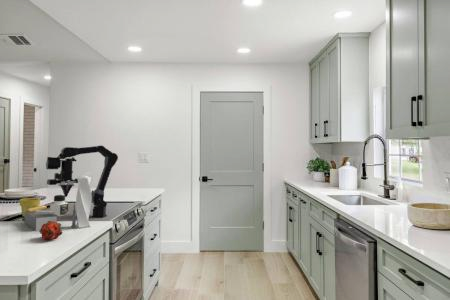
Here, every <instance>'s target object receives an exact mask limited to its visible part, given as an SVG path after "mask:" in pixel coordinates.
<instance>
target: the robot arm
mask: <svg viewBox="0 0 450 300" xmlns="http://www.w3.org/2000/svg"><path fill="white" fill-rule="evenodd" d="M92 153H99V154H100V155H101V156H102V157H104V163H103V164H104V167H103V170H102V172H101V175H100V177H99V181H98V183H97V185H96V188H95V189H94V190H91V196H92V201H91V204H93V208H92V216H91V218H104V217H107V216H108V214H106V211H107V206H108V203H107V202H106V201H105V200H104V196H105V188H106V186H107V184H108V180H109V177H110V174H111V171H112V169H113V167H114V166H115V165H116V163H117V161H118V160H119V155H118V154H117V153H115V152H112V151H111V150H109V149H108V148H106V147H105V146H104V145H97V146H96V145H95V146H83V147H70V146H69V147H67V146H65V147H63V148H62V149H61V150H60V153H59V155H57V157H54V156H53V157H52V156H47V157H46V162H45V168H46V170H59V169H60V173H59V172H55V173H54V177H53V178H49V179H47V180H46V185H48V186H59V187H60V188H61V189H62V193H63V195H64V196H65V198H67V197H68V195H69V193H70V191H71V189H72V188H73V186H74V187H75V184H78V179H77V178H74V179H73V172H74V170H73V162H77V159H75V156H79V155H84V154H92Z"/></svg>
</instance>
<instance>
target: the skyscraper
mask: <svg viewBox="0 0 450 300" xmlns="http://www.w3.org/2000/svg"><path fill="white" fill-rule="evenodd" d="M88 174H90V175H91V176H89V175H88ZM93 175H94V173H93V172H86V173H84V174H83V175H80V176H77V179H78V183H77V184H78V187H77V191H76V197H75V202H73V203H74V204H73V210H72V219H71V220H72V221H71V227H72V228H73V229H75V230H78V229H86V228H91V224H90V221H89V217H90V213H91V208H92V202H91V201H92V196H91V192H92V190H91V181H92V177H93ZM76 217H77V218H76ZM76 219H77V221H76Z"/></svg>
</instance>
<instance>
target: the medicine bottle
mask: <svg viewBox="0 0 450 300" xmlns="http://www.w3.org/2000/svg"><path fill="white" fill-rule="evenodd" d="M49 207H50V208H49V211H53V212H55V213H54V214H56V215H57V217H63V216H66V215H69V202H66V197H65V196H64V194H57V195H54V196H53V203H50V204H49Z"/></svg>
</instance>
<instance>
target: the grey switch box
mask: <svg viewBox="0 0 450 300" xmlns="http://www.w3.org/2000/svg"><path fill="white" fill-rule="evenodd" d="M41 210H42V211H49V210H48V209H47V208H45V209H41ZM48 221H51V222H52V221H56V222H57V223H58V216H57V215H56V214H39V213H35V211H33V212H29V211H25V217H24V224H25V225H26V226H28V227H29V228H30V229H32V230H33V231H34V232H40V230H41V228H42V225H43V224H46V223H47V222H48Z"/></svg>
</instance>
